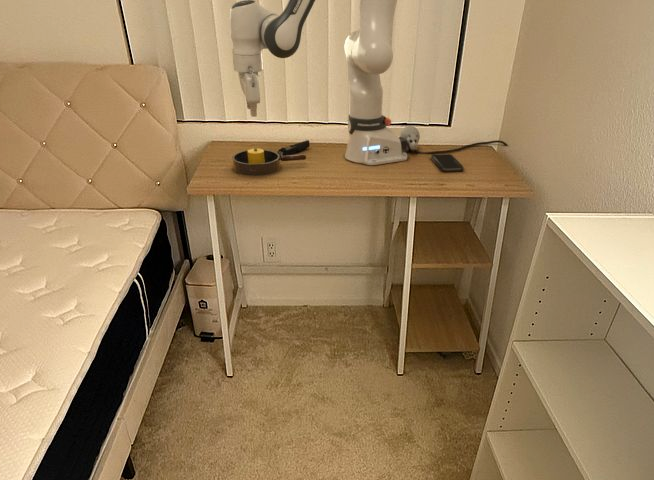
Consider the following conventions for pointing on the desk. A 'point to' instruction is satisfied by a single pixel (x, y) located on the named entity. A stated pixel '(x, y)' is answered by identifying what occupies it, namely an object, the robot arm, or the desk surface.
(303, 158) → the pan handle
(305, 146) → the electric trimmer
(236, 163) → the pan
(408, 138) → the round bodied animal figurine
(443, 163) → the phone
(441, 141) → the desk surface
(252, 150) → the yellow pepper
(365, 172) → the desk surface
